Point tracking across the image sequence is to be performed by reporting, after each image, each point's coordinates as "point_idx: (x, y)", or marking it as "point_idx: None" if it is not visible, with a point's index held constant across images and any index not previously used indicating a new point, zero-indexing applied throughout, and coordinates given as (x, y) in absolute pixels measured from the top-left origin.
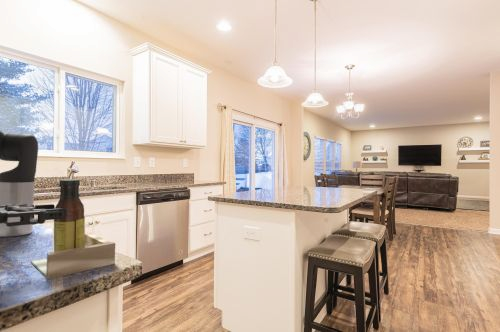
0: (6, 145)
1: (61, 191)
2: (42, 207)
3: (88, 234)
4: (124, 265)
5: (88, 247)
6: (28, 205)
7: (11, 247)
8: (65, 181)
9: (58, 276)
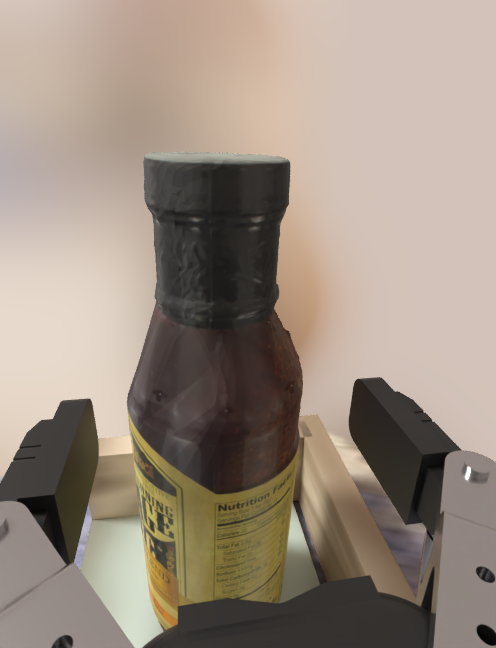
0: None
1: (236, 267)
2: (75, 470)
3: (104, 448)
4: (343, 460)
5: (349, 485)
6: (30, 555)
7: None
8: (284, 170)
9: None
